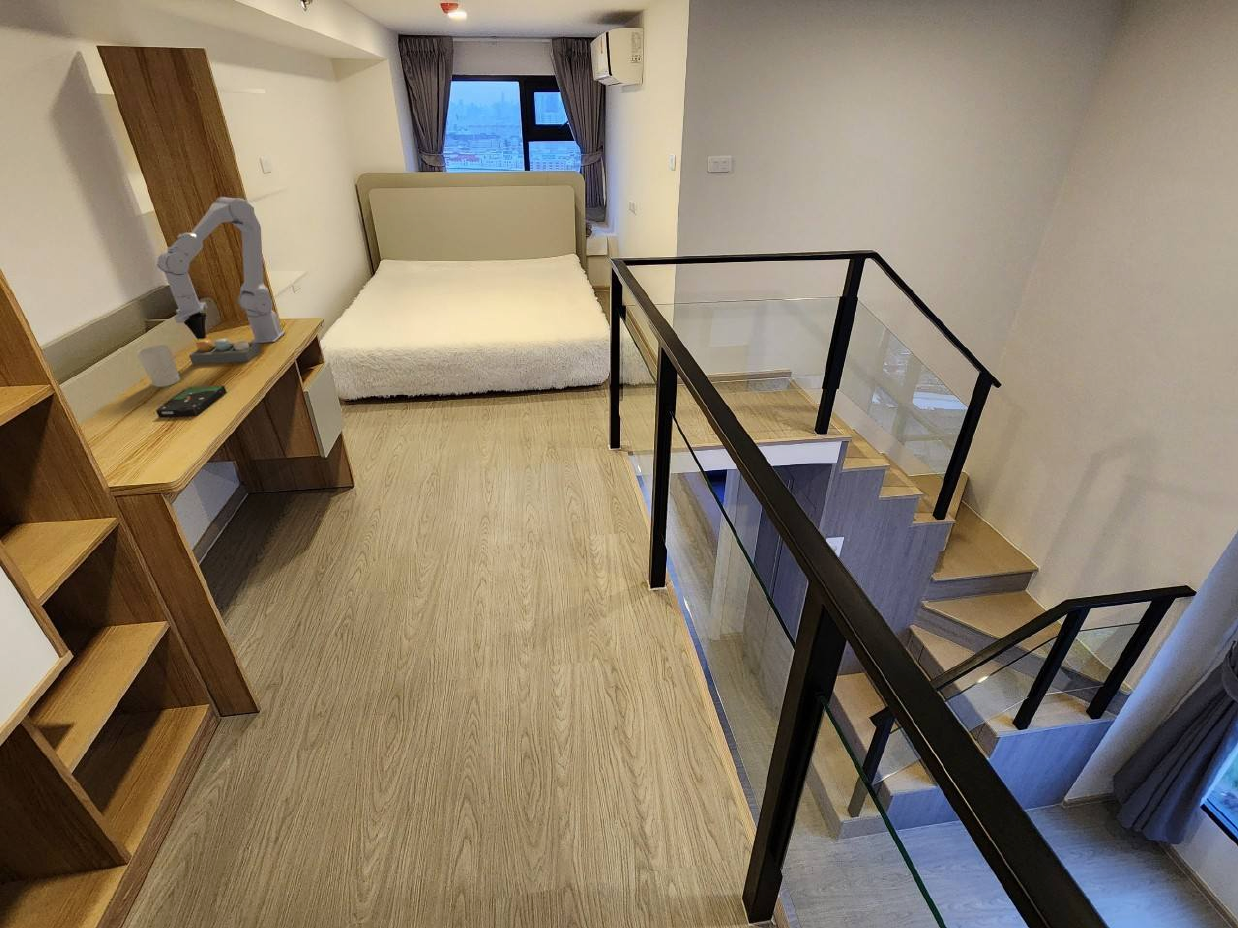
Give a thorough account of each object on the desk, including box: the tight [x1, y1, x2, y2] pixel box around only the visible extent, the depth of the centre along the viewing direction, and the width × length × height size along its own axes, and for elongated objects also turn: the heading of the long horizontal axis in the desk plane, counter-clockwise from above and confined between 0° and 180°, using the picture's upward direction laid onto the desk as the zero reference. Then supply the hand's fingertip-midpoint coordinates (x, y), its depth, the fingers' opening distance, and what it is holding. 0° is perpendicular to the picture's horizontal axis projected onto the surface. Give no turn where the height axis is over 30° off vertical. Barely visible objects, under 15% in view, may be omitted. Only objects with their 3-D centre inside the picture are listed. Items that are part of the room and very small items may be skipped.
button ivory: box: [234, 340, 250, 351], centre depth 197 cm, size 4×4×3 cm
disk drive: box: [155, 385, 228, 418], centre depth 168 cm, size 10×3×15 cm
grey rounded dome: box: [213, 338, 231, 351], centre depth 196 cm, size 4×4×3 cm
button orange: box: [195, 338, 213, 352], centre depth 196 cm, size 4×4×3 cm
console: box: [188, 341, 262, 366], centre depth 198 cm, size 9×17×3 cm, turn 94°
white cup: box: [136, 344, 181, 388], centre depth 180 cm, size 8×8×10 cm
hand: (201, 338), depth 195 cm, fingers closed
